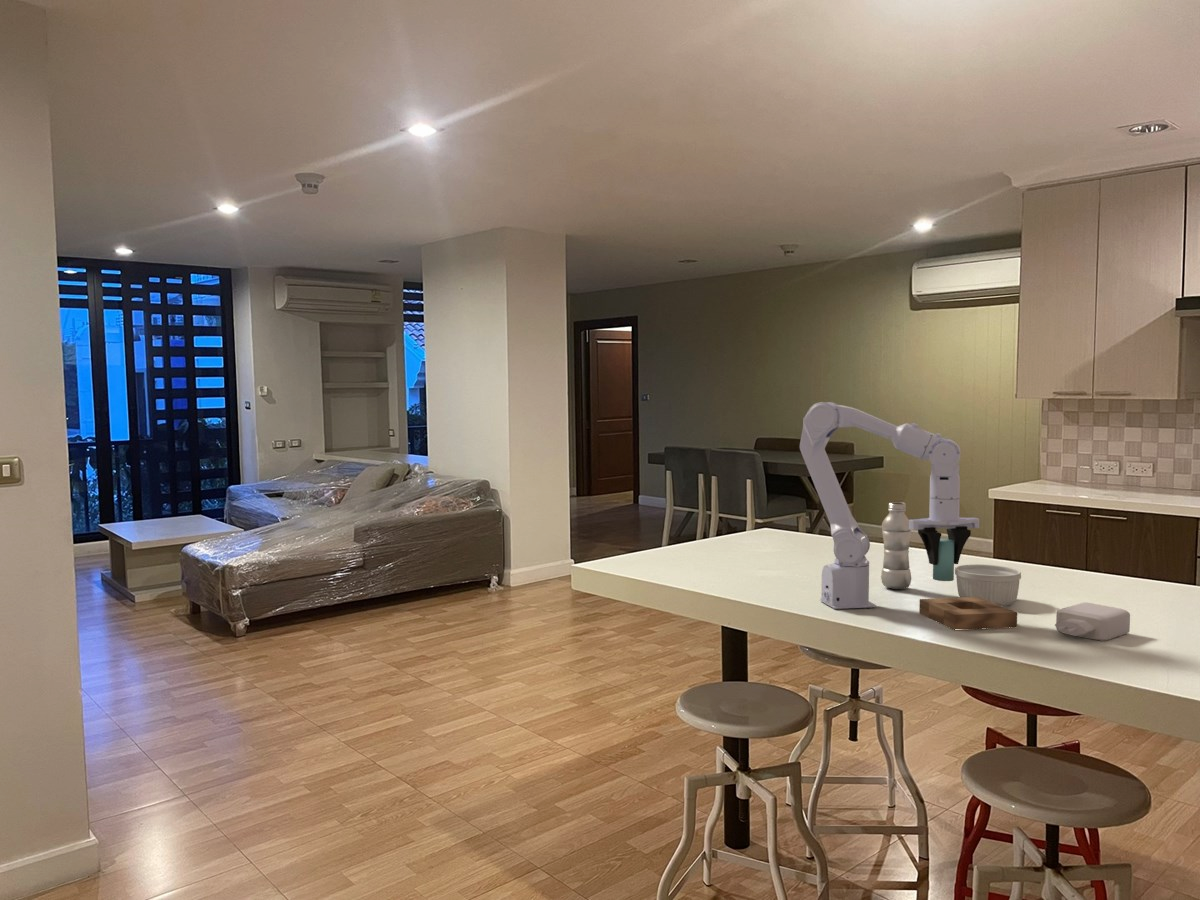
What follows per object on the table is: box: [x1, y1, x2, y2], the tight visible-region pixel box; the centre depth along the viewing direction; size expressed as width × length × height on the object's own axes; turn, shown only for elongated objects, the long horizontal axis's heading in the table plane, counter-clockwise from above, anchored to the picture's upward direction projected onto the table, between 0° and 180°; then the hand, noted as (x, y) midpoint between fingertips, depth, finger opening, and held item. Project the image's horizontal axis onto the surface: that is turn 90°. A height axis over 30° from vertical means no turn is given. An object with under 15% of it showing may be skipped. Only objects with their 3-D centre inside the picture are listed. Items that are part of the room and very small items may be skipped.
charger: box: [1054, 602, 1131, 642], centre depth 159 cm, size 5×9×15 cm
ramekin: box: [954, 563, 1022, 607], centre depth 187 cm, size 13×13×7 cm
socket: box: [918, 597, 1018, 631], centre depth 170 cm, size 13×13×3 cm
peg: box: [932, 538, 955, 582], centre depth 175 cm, size 4×4×8 cm
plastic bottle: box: [880, 501, 912, 590], centre depth 198 cm, size 6×7×20 cm
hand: (943, 563), depth 175 cm, fingers closed on peg, 4 cm apart
